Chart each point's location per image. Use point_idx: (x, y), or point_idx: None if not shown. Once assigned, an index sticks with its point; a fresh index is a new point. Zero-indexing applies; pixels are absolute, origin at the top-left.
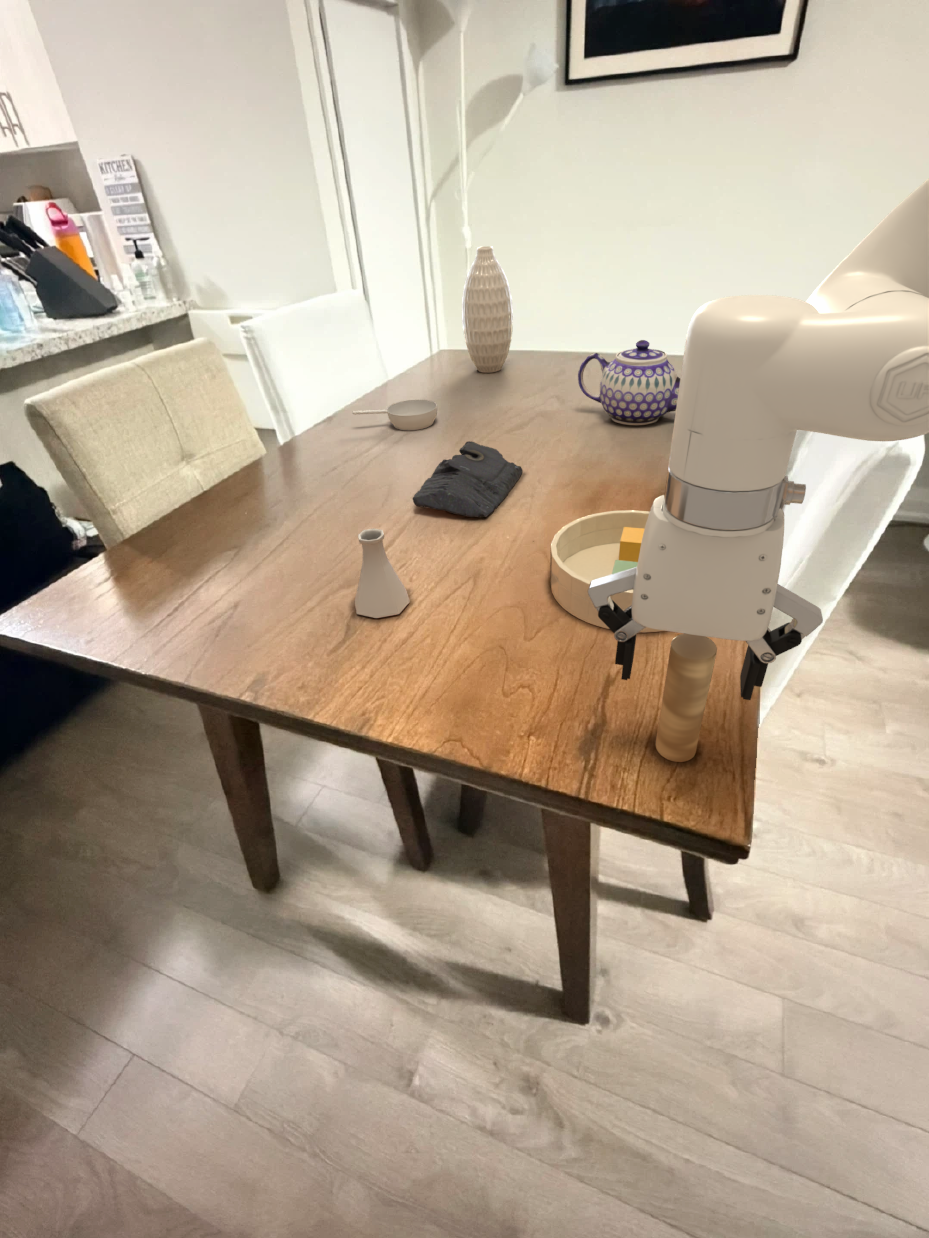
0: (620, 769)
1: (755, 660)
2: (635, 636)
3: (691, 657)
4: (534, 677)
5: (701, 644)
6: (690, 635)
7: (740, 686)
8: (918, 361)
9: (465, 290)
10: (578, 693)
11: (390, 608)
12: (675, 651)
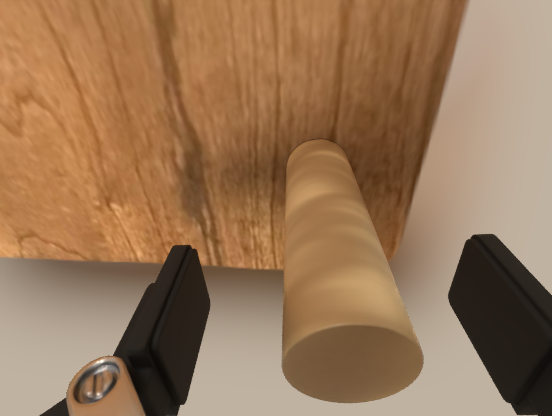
0: (248, 224)
1: (529, 409)
2: (172, 384)
3: (343, 400)
4: (21, 62)
5: (375, 359)
6: (340, 336)
7: (456, 269)
8: None
9: None
10: (124, 85)
11: None
12: (298, 388)
